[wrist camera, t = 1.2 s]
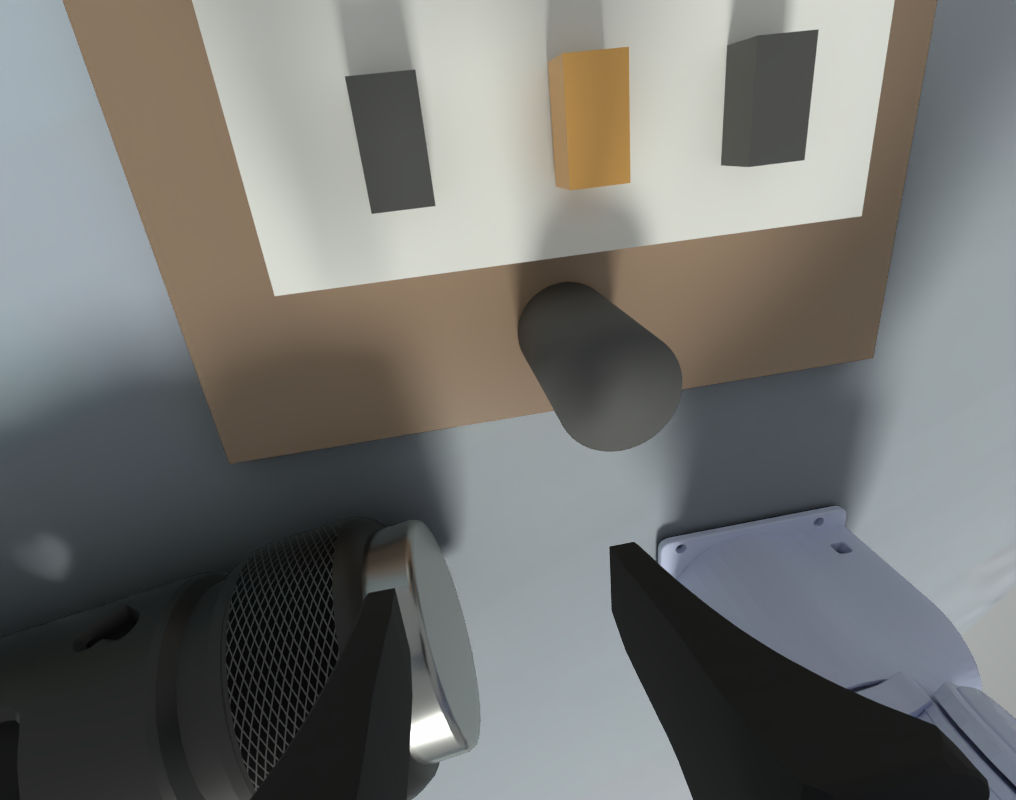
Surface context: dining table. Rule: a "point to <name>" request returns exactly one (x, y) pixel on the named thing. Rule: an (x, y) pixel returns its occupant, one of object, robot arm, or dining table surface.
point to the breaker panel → (462, 310)
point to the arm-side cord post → (599, 367)
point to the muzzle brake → (228, 671)
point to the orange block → (590, 118)
